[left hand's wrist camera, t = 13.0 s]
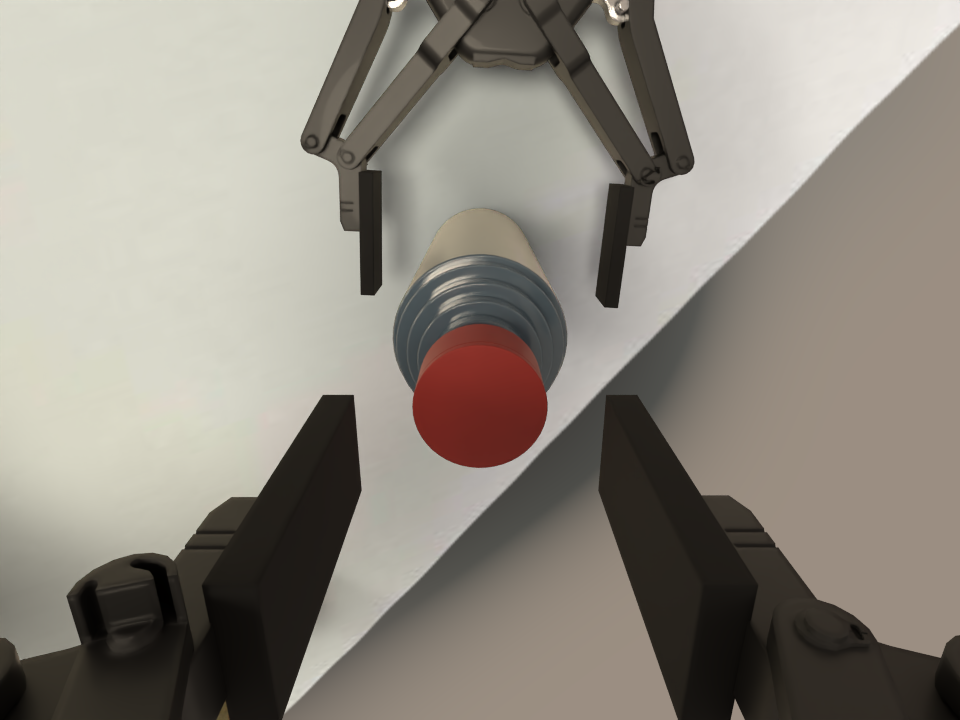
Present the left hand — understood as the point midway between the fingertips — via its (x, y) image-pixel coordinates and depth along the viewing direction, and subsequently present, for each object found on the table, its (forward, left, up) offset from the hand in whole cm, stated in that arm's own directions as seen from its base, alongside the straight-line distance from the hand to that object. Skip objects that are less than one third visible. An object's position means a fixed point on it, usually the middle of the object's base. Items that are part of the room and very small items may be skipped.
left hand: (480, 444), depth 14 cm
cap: (0, 0, -2) cm, 2 cm away
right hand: (0, -1, -20) cm, 20 cm away
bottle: (0, 0, -26) cm, 26 cm away
